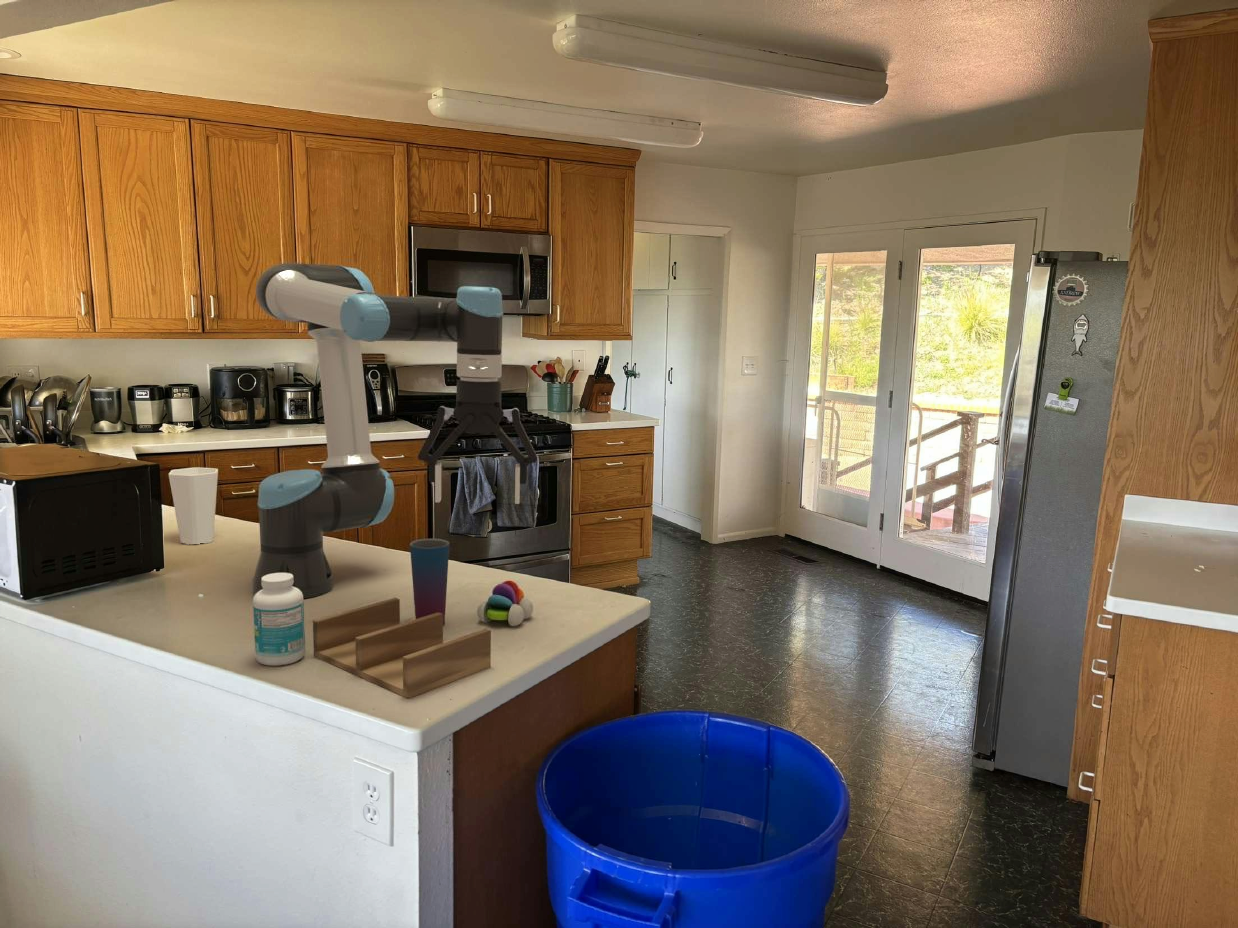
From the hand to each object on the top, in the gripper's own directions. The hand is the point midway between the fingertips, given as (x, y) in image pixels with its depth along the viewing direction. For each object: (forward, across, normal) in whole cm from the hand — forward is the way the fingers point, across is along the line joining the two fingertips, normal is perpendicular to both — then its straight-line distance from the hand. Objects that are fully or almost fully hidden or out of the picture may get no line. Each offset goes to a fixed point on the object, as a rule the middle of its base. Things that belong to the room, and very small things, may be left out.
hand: (477, 501), depth 151 cm
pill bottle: (+23, -30, -14) cm, 40 cm away
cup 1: (+24, -70, +61) cm, 96 cm away
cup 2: (+23, -8, +1) cm, 25 cm away
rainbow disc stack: (+23, +5, +4) cm, 24 cm away
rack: (+23, -11, -16) cm, 30 cm away
